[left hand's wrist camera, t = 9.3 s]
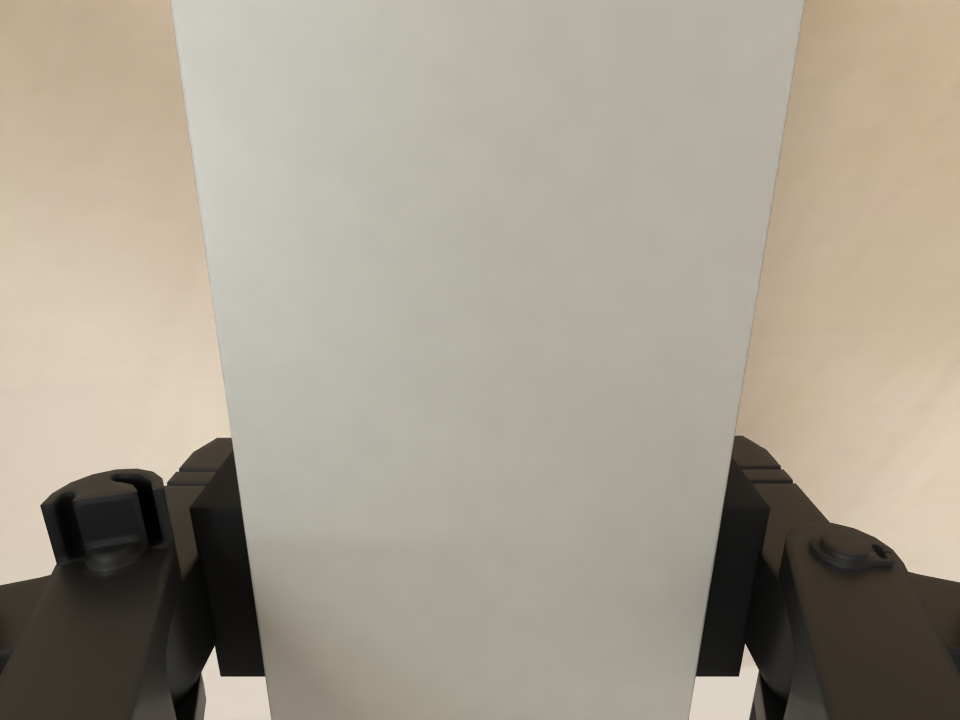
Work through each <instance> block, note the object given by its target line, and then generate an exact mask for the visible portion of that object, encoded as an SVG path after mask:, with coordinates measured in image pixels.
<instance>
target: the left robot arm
mask: <svg viewBox="0 0 960 720" xmlns="http://www.w3.org/2000/svg"><path fill="white" fill-rule="evenodd" d="M40 506H41V510H42V513H43V517H44V520H45V524H46V527H47V531H48V534H49V538H50V541H51V545H52V549H53V552H54V556H55V559H56V563H57V564H56V566H55V568H54V570H53V572H52V574H51V575H48V576H45V577H41V578H36V579H31V580H25V581H20V582H15V583H10V584H5V585H0V720H204V712H205V705H206V696H205V689H204V683H203V678H202V673H201V672H202V670H203V668H204V666H205V664H206V662H207V660H208V658H209V656H210V654H211V652H212V650H213V648H214V646H215V649H216V654H217V659H218V665H219V670H220V675H221V676H265V670H264V663H263V656H262V649H261V642H260V635H259V628H258V621H257V613H256V606H255V599H254V592H253V585H252V578H251V571H250V564H249V557H248V550H247V542H246V535H245V528H244V521H243V514H242V507H241V500H240V493H239V486H238V479H237V471H236V464H235V457H234V450H233V443H232V438H216V439H215V440H213V441H211V442H210V443H208V444H206V445H205V446H203V447H201V448H200V449H198V450H196V451H195V452H193V453H192V454H191V456H190V457H189V458H188V459H187V460H186V461H185V463H184V464H183V465H182V466H181V467H180V468H179V472H176V473H175V474H174V475H173V476H172V478H171V479H170V480H169V481H168V482H167V486H164V485H163V480H162V478H161V477H160V476H158V475H157V474H155V473H154V472H152V471H146V470H141V469H118V470H112V471H107V472H102V473H97V474H93V475H90V476H87V477H85V478H82V479H79V480H77V481H74V482H71V483H69V484H68V485H66V486H64V487H62V488H61V489H59V490H57V491H56V492H54V493H52V494H51V495H50V496H49V497H48V498H47V499H46V500H45V501H44V502H43V503H42V504H41V505H40ZM745 644H746V646H747V647H748V649H749V651H750V653H751V655H752V657H753V659H754V661H755V663H756V665H757V667H758V669H759V673H758V678H757V683H756V688H755V693H754V698H753V703H752V708H751V713H750V718H749V720H960V583H959V582H954V581H949V580H944V579H939V578H934V577H929V576H924V575H919V574H915V573H911V572H908V571H907V569H906V567H905V565H904V563H903V562H902V560H901V559H900V558H899V557H898V556H897V554H896V553H895V552H894V551H893V549H891V548H890V547H888V546H887V545H885V544H884V543H882V542H881V541H879V540H878V539H876V538H875V537H873V536H870V535H868V534H866V533H863V532H861V531H859V530H857V529H854V528H850V527H846V526H842V525H838V524H834V523H830V522H829V521H828V520H827V519H826V518H825V517H824V515H823V514H822V513H821V512H820V511H819V510H818V509H817V507H816V506H815V505H814V504H813V503H812V502H811V501H810V499H809V498H808V497H807V496H806V495H805V494H804V492H803V491H802V490H801V489H800V488H799V487H798V486H797V484H793V480H792V479H791V478H790V476H789V475H788V474H787V473H786V472H785V471H784V470H781V466H780V465H779V464H778V463H777V461H776V460H775V459H774V458H773V457H772V456H771V455H770V453H769V452H768V451H767V450H766V449H764V448H762V447H761V446H759V445H757V444H756V443H754V442H752V441H750V440H749V439H747V438H745V437H744V436H734V442H733V448H732V454H731V461H730V467H729V473H728V479H727V485H726V491H725V498H724V504H723V510H722V516H721V522H720V528H719V535H718V541H717V547H716V553H715V559H714V566H713V572H712V578H711V584H710V590H709V596H708V603H707V609H706V615H705V621H704V627H703V633H702V640H701V646H700V652H699V658H698V664H697V670H696V676H739V673H740V668H741V662H742V657H743V652H744V646H745Z"/></svg>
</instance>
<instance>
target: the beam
mask: <svg viewBox="0 0 960 720" xmlns="http://www.w3.org/2000/svg"><path fill="white" fill-rule="evenodd" d="M170 3H171V10H172V17H173V24H174V31H175V38H176V45H177V52H178V60H179V67H180V74H181V81H182V88H183V95H184V102H185V109H186V116H187V123H188V131H189V138H190V145H191V152H192V159H193V166H194V173H195V180H196V187H197V194H198V202H199V209H200V216H201V223H202V230H203V237H204V244H205V251H206V258H207V265H208V273H209V280H210V287H211V294H212V301H213V308H214V315H215V322H216V329H217V337H218V344H219V351H220V358H221V365H222V372H223V379H224V386H225V393H226V400H227V408H228V415H229V422H230V429H231V436H232V443H233V450H234V457H235V464H236V471H237V479H238V486H239V493H240V500H241V507H242V514H243V521H244V528H245V535H246V542H247V550H248V557H249V564H250V571H251V578H252V585H253V592H254V599H255V606H256V613H257V621H258V628H259V635H260V642H261V649H262V656H263V663H264V670H265V677H266V684H267V692H268V699H269V706H270V713H271V720H689V714H690V707H691V701H692V695H693V689H694V683H695V677H696V670H697V664H698V658H699V652H700V646H701V640H702V633H703V627H704V621H705V615H706V609H707V603H708V596H709V590H710V584H711V578H712V572H713V566H714V559H715V553H716V547H717V541H718V535H719V528H720V522H721V516H722V510H723V504H724V498H725V491H726V485H727V479H728V473H729V467H730V461H731V454H732V448H733V442H734V436H735V430H736V424H737V417H738V411H739V405H740V399H741V393H742V387H743V380H744V374H745V368H746V362H747V356H748V350H749V343H750V337H751V331H752V325H753V319H754V312H755V306H756V300H757V294H758V288H759V282H760V275H761V269H762V263H763V257H764V251H765V245H766V238H767V232H768V226H769V220H770V214H771V208H772V201H773V195H774V189H775V183H776V177H777V171H778V164H779V158H780V152H781V146H782V140H783V134H784V127H785V121H786V115H787V109H788V103H789V96H790V90H791V84H792V78H793V72H794V66H795V59H796V53H797V47H798V41H799V35H800V29H801V22H802V16H803V10H804V4H805V0H170Z"/></svg>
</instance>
